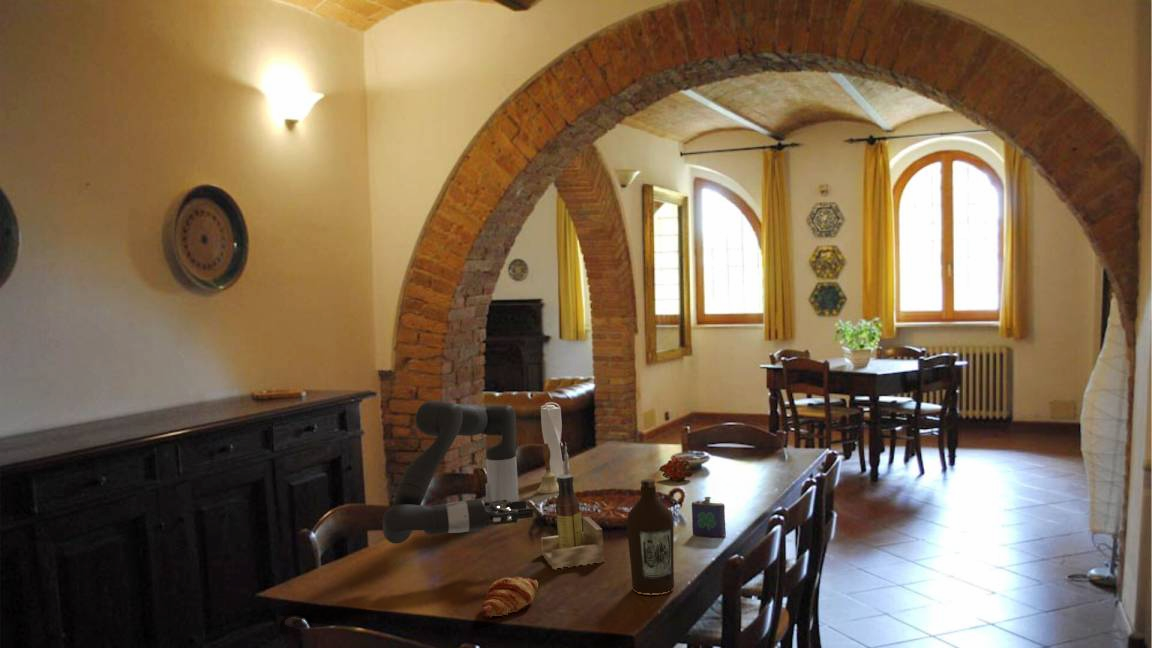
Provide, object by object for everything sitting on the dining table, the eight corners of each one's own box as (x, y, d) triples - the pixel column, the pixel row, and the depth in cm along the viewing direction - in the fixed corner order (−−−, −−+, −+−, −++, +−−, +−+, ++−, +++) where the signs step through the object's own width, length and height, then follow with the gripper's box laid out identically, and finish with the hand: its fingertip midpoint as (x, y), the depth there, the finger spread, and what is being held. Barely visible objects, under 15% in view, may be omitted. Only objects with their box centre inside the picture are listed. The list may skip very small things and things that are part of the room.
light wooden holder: (553, 569, 228) (551, 535, 227) (541, 554, 240) (540, 522, 240) (604, 562, 231) (602, 529, 231) (590, 548, 244) (588, 516, 243)
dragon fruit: (696, 486, 312) (662, 489, 317) (698, 467, 318) (665, 470, 323) (688, 469, 307) (654, 473, 312) (690, 450, 314) (657, 454, 318)
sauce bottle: (579, 547, 240) (575, 471, 239) (587, 554, 234) (582, 476, 233) (555, 551, 238) (550, 474, 237) (562, 557, 232) (558, 479, 231)
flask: (727, 536, 248) (725, 496, 247) (723, 539, 245) (721, 499, 245) (694, 533, 252) (692, 494, 251) (690, 536, 249) (688, 497, 249)
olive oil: (624, 584, 214) (618, 478, 213) (668, 578, 216) (662, 473, 215) (637, 600, 204) (631, 488, 202) (683, 593, 206) (677, 483, 205)
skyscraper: (562, 482, 321) (558, 402, 319) (540, 482, 323) (536, 402, 322) (570, 477, 329) (566, 399, 327) (549, 476, 331) (544, 399, 330)
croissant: (526, 603, 215) (511, 572, 217) (558, 587, 211) (543, 555, 213) (475, 635, 197) (459, 601, 198) (509, 619, 192) (493, 583, 194)
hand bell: (543, 494, 305) (540, 447, 304) (533, 490, 312) (530, 443, 311) (566, 490, 309) (563, 443, 308) (555, 486, 316) (552, 440, 315)
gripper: (468, 507, 221) (534, 500, 225) (460, 494, 235) (522, 487, 239) (470, 538, 221) (536, 530, 226) (462, 524, 235) (524, 516, 239)
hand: (529, 508), depth 232 cm, fingers open, 8 cm apart
